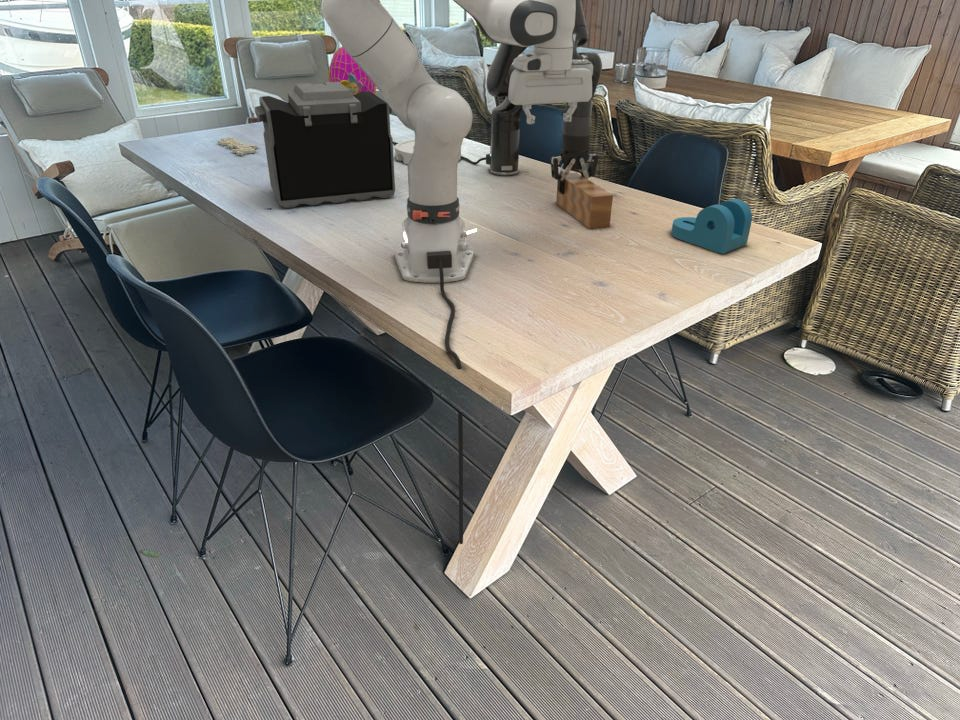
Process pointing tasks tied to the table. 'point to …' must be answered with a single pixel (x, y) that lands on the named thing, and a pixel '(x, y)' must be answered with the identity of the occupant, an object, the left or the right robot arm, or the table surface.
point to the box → (585, 201)
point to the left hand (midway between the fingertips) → (548, 122)
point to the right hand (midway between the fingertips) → (571, 192)
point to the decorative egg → (348, 70)
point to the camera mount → (716, 226)
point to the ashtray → (407, 151)
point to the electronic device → (327, 145)
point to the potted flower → (352, 84)
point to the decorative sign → (237, 146)
